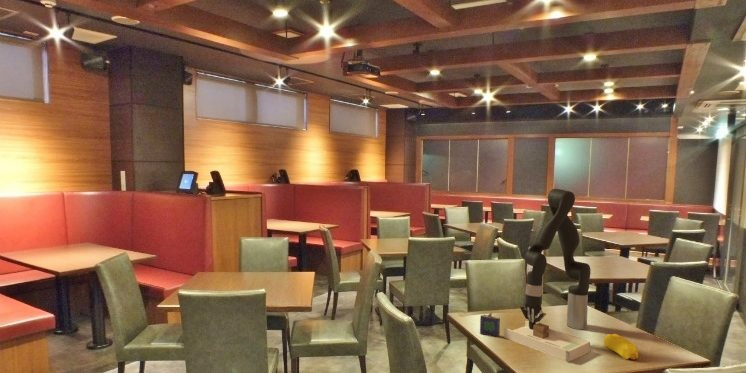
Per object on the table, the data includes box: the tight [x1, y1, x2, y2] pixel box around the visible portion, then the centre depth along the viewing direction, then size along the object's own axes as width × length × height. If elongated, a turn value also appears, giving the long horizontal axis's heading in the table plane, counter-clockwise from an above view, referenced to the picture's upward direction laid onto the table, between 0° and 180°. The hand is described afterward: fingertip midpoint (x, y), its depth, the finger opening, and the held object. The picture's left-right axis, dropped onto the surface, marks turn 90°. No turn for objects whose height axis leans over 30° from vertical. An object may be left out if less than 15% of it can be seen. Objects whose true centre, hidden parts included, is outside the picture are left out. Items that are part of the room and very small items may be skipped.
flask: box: [479, 312, 501, 337], centre depth 213 cm, size 9×3×11 cm, turn 68°
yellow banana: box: [603, 333, 639, 360], centre depth 195 cm, size 18×7×8 cm
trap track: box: [503, 320, 591, 363], centre depth 202 cm, size 18×32×4 cm, turn 37°
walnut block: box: [533, 322, 550, 339], centre depth 207 cm, size 5×5×5 cm
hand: (531, 329), depth 211 cm, fingers closed
